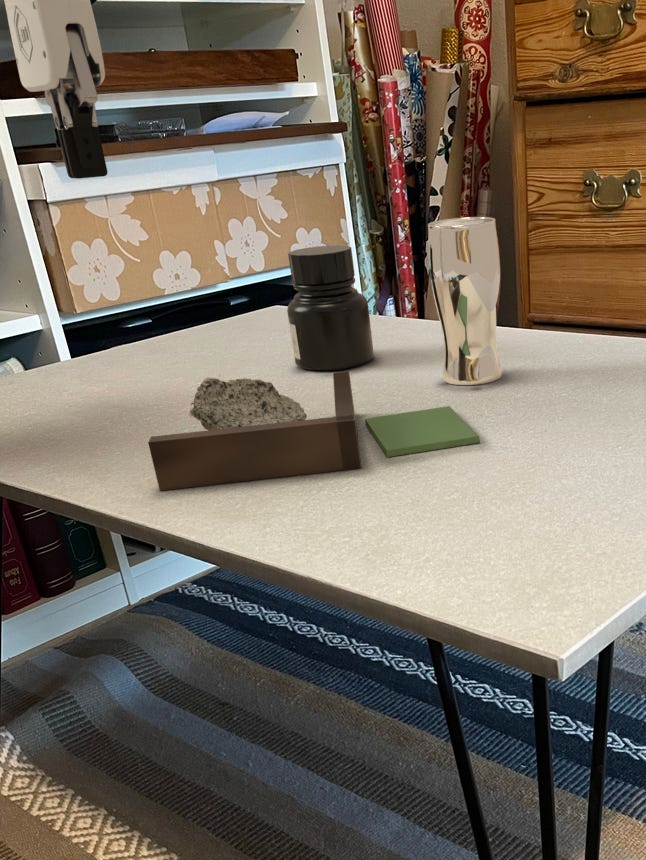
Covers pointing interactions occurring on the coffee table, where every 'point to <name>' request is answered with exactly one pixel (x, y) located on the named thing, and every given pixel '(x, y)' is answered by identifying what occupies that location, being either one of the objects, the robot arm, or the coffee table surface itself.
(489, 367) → the beer glass
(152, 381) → the coffee table surface
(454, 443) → the green tile
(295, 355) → the ink bottle
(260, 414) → the rock sample
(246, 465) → the corner stop
